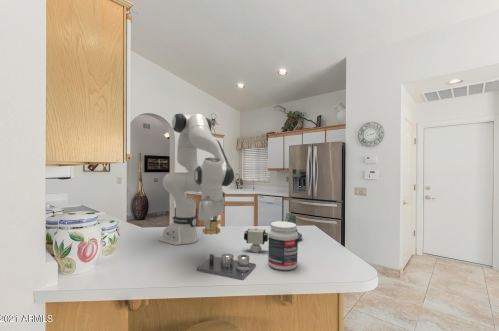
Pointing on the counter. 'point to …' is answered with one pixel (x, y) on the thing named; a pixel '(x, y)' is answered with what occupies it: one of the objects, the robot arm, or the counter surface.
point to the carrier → (228, 266)
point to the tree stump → (291, 219)
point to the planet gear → (212, 228)
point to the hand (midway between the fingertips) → (211, 226)
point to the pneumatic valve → (255, 238)
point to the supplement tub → (283, 245)
